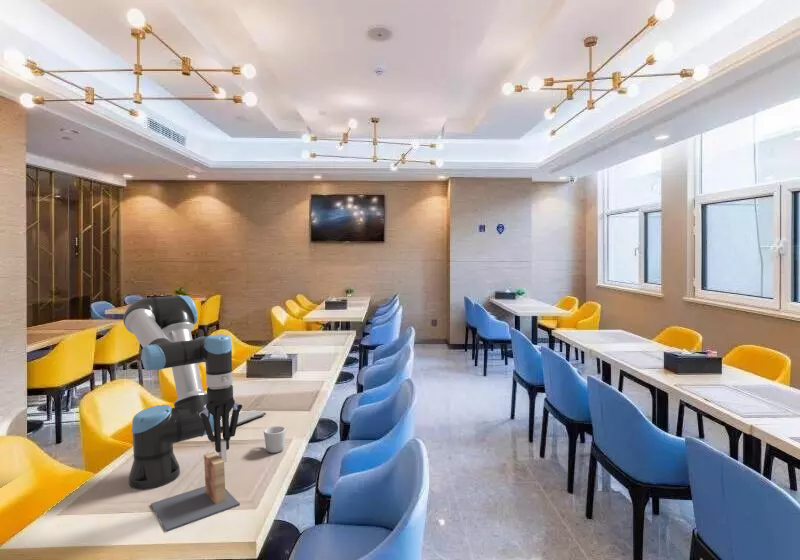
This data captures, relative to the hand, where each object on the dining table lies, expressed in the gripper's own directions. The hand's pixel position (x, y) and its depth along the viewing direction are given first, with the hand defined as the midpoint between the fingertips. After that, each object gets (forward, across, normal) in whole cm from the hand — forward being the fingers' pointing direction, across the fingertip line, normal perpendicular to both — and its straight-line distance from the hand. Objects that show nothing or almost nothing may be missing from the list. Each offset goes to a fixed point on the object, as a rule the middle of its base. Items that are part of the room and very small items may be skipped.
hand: (222, 460), depth 144 cm
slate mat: (+11, -9, 0) cm, 14 cm away
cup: (+11, +27, +21) cm, 36 cm away
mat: (+12, +27, +66) cm, 72 cm away
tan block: (+10, -3, 0) cm, 11 cm away
